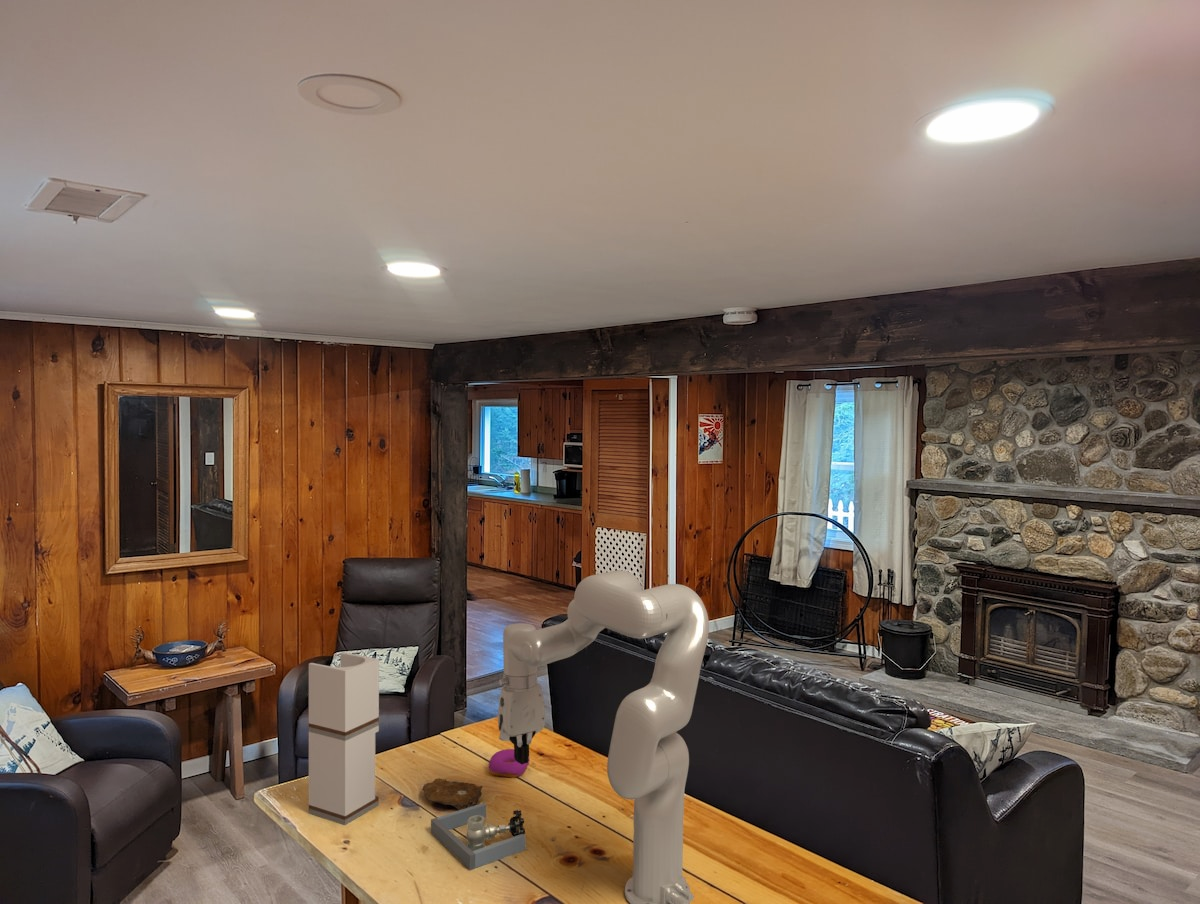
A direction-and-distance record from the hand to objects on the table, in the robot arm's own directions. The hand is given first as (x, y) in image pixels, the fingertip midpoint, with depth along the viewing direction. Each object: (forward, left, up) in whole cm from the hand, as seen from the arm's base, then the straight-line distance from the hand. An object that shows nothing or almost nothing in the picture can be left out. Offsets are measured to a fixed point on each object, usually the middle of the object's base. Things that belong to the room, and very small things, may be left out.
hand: (521, 761), depth 176 cm
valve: (-3, +9, -15) cm, 18 cm away
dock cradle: (+1, +10, -15) cm, 18 cm away
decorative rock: (+21, +7, -16) cm, 27 cm away
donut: (+27, -13, -15) cm, 34 cm away
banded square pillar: (+32, +29, -15) cm, 46 cm away
